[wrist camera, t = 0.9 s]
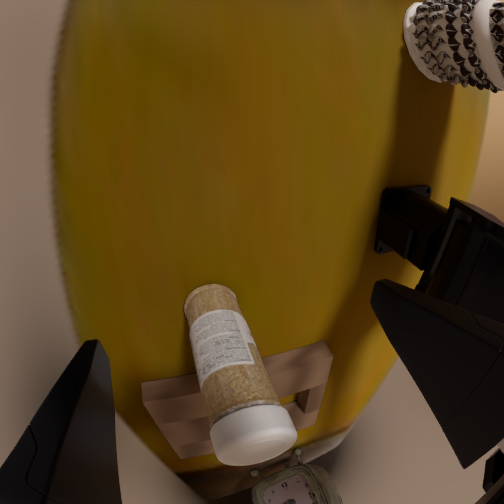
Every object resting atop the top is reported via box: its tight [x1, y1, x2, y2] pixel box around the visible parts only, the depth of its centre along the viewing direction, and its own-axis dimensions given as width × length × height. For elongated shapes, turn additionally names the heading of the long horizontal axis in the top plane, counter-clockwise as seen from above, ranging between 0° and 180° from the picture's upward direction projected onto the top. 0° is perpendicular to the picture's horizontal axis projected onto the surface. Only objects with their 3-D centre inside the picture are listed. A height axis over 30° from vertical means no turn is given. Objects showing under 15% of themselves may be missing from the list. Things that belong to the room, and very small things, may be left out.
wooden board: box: [141, 341, 334, 459], centre depth 32 cm, size 20×17×2 cm
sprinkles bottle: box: [184, 284, 297, 466], centre depth 19 cm, size 5×5×13 cm
